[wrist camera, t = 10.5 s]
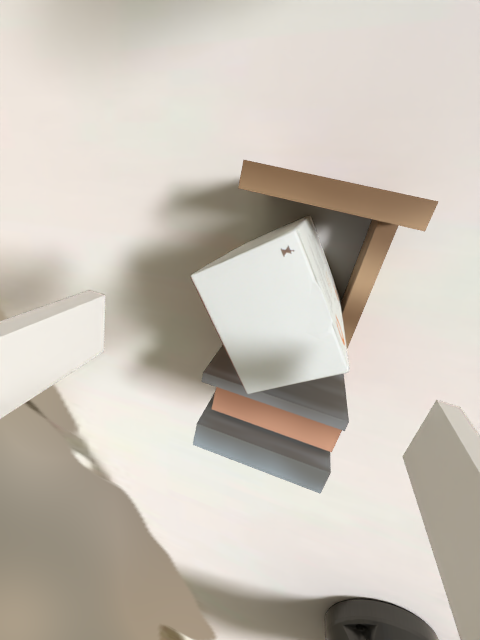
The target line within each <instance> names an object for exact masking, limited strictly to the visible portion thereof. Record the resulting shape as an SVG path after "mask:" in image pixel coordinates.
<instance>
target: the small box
mask: <svg viewBox="0 0 480 640" xmlns="http://www.w3.org/2000/svg"><path fill="white" fill-rule="evenodd" d="M191 279H192V281H193V283H194V285H195V288H196V290H197V292H198V294H199V296H200V298H201V300H202V302H203V304H204V306H205V308H206V310H207V312H208V314H209V316H210V319H211V321H212V323H213V325H214V327H215V329H216V331H217V333H218V335H219V337H220V339H221V341H222V343H223V345H224V348H225V350H226V352H227V354H228V356H229V358H230V360H231V362H232V364H233V366H234V368H235V370H236V372H237V374H238V376H239V378H240V381H241V383H242V385H243V387H244V389H245V391H246V393H247V394H251V393H255V392H259V391H264V390H268V389H273V388H277V387H282V386H286V385H291V384H296V383H300V382H305V381H310V380H315V379H319V378H324V377H329V376H334V375H339V374H344V373H348V372H349V361H348V353H347V347H346V340H345V332H344V325H343V319H342V312H341V304H340V297H339V294H338V291H337V288H336V285H335V282H334V279H333V276H332V273H331V271H330V268H329V265H328V262H327V259H326V257H325V254H324V251H323V248H322V245H321V243H320V240H319V237H318V234H317V231H316V229H315V226H314V224H313V221H312V219H311V216H310V215H309V216H306V217H304V218H301V219H299V220H297V221H295V222H292V223H290V224H288V225H285V226H283V227H281V228H278V229H276V230H274V231H272V232H269V233H267V234H265V235H263V236H261V237H258V238H256V239H254V240H252V241H249V242H247V243H245V244H243V245H242V246H240V247H238V248H236V249H234V250H232V251H231V252H229V253H227V254H226V255H224V256H222V257H220V258H218V259H217V260H215V261H213V262H211V263H210V264H208V265H206V266H205V267H203V268H201V269H200V270H198V271H196V272H195V273H193V274H192V275H191Z"/></svg>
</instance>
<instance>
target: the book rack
mask: <svg viewBox="0 0 480 640" xmlns="http://www.w3.org/2000/svg"><path fill="white" fill-rule="evenodd" d="M238 188H239V189H244V190H248V191H252V192H257V193H261V194H265V195H270V196H274V197H278V198H283V199H287V200H291V201H296V202H300V203H304V204H309V205H313V206H317V207H322V208H326V209H330V210H335V211H339V212H343V213H348V214H352V215H356V216H361V217H365V218H369V219H372V221H371V224H370V226H369V229H368V232H367V234H366V237H365V240H364V242H363V245H362V248H361V250H360V253H359V256H358V258H357V261H356V264H355V266H354V269H353V272H352V274H351V277H350V280H349V282H348V285H347V287H346V290H345V293H344V295H343V298H342V301H341V303H340V304H341V312H342V319H343V325H344V332H345V340H346V347H347V348H348V345H349V343H350V341H351V338H352V336H353V333H354V331H355V329H356V326H357V324H358V321H359V319H360V317H361V314H362V312H363V309H364V307H365V305H366V302H367V300H368V297H369V295H370V293H371V290H372V288H373V285H374V283H375V281H376V278H377V276H378V273H379V271H380V269H381V266H382V264H383V261H384V259H385V257H386V254H387V252H388V249H389V247H390V245H391V242H392V240H393V237H394V235H395V232H396V230H397V228H398V225H400V226H404V227H408V228H413V229H417V230H421V231H425V230H426V228H427V226H428V223H429V221H430V219H431V217H432V215H433V212H434V210H435V208H436V206H437V204H438V201H433V200H429V199H424V198H419V197H415V196H410V195H405V194H401V193H396V192H391V191H387V190H382V189H377V188H373V187H368V186H363V185H359V184H354V183H349V182H345V181H340V180H335V179H331V178H326V177H321V176H317V175H312V174H307V173H303V172H298V171H294V170H289V169H284V168H280V167H275V166H270V165H266V164H261V163H256V162H252V161H247V160H243V166H242V171H241V177H240V182H239V187H238ZM202 382H204V383H207V384H210V385H213V386H216V391H215V393H214V395H213V396H212V398H211V400H210V402H209V403H208V405H207V407H206V409H205V410H204V412H203V414H202V416H201V417H200V419H199V421H198V423H197V426H196V431H195V436H194V442H193V445H195V446H198V447H200V448H203V449H206V450H208V451H211V452H213V453H216V454H219V455H221V456H224V457H226V458H229V459H232V460H234V461H237V462H239V463H242V464H245V465H247V466H250V467H252V468H255V469H258V470H260V471H263V472H266V473H268V474H271V475H273V476H276V477H279V478H281V479H284V480H286V481H289V482H292V483H294V484H297V485H299V486H302V487H305V488H307V489H310V490H312V491H315V492H318V493H321V491H322V489H323V487H324V485H325V483H326V481H327V479H328V477H329V475H330V473H331V471H330V452H332V450H333V448H334V446H335V444H336V442H337V440H338V438H339V435H340V433H341V431H342V430H343V431H345V429H346V427H347V425H348V423H349V419H348V410H347V401H346V392H345V383H344V374H339V375H334V376H329V377H324V378H319V379H315V380H310V381H305V382H300V383H296V384H291V385H286V386H282V387H277V388H273V389H268V390H264V391H259V392H255V393H251V394H247V393H246V391H245V389H244V387H243V385H242V383H241V381H240V378H239V376H238V374H237V372H236V370H235V368H234V366H233V364H232V362H231V360H230V358H229V356H228V354H227V352H226V350H225V348H224V345H222V347H221V348H220V350H219V351H218V352H217V354H216V355H215V357H214V358H213V359H212V361H211V362H210V364H209V365H208V367H207V368H206V369H205V371H204V372H203V377H202Z"/></svg>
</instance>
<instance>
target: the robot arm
mask: <svg viewBox="0 0 480 640" xmlns="http://www.w3.org/2000/svg"><path fill="white" fill-rule="evenodd" d="M104 326H105V295H104V294H100V293H97V292H94V291H91V290H88V291H85V292H82V293H79V294H77V295H74V296H71V297H68V298H65V299H62V300H59V301H57V302H54V303H51V304H48V305H45V306H42V307H40V308H37V309H34V310H31V311H28V312H25V313H22V314H20V315H17V316H14V317H11V318H8V319H5V320H2V321H0V419H1V418H3V417H4V416H5V415H7V414H9V413H10V412H12V411H13V410H15V409H16V408H18V407H19V406H21V405H23V404H24V403H26V402H27V401H29V400H30V399H32V398H33V397H35V396H36V395H38V394H39V393H41V392H42V391H44V390H45V389H47V388H49V387H50V386H52V385H53V384H55V383H56V382H58V381H59V380H61V379H62V378H64V377H65V376H67V375H69V374H70V373H72V372H73V371H75V370H76V369H78V368H79V367H81V366H82V365H84V364H85V363H87V362H88V361H90V360H91V359H93V358H95V357H96V356H98V355H99V354H101V353H102V352H104ZM403 459H404V462H405V466H406V469H407V472H408V475H409V478H410V481H411V484H412V488H413V491H414V494H415V497H416V500H417V503H418V507H419V510H420V513H421V516H422V519H423V522H424V525H425V529H426V532H427V535H428V538H429V541H430V544H431V548H432V551H433V554H434V557H435V560H436V563H437V566H438V570H439V573H440V576H441V579H442V582H443V585H444V589H445V592H446V595H447V598H448V601H449V604H450V607H451V611H452V614H453V617H454V620H455V623H456V626H457V630H458V633H459V636H460V639H461V640H480V435H479V434H478V432H477V431H476V430H475V428H474V427H473V425H472V424H471V422H470V421H469V419H468V418H467V416H466V415H465V413H464V412H463V411H462V409H461V408H460V407H458V406H455V405H452V404H448V403H445V402H442V401H439V400H436V402H435V403H434V405H433V407H432V408H431V410H430V412H429V413H428V415H427V417H426V418H425V420H424V422H423V423H422V425H421V427H420V428H419V430H418V432H417V433H416V435H415V437H414V438H413V440H412V442H411V443H410V445H409V447H408V448H407V450H406V452H405V453H404V455H403ZM325 638H326V640H439V639H438V637H437V635H436V634H435V632H434V631H433V630H432V628H431V627H430V626H429V625H428V624H426V623H425V622H424V621H423V620H421V619H420V618H418V617H417V616H415V615H414V614H412V613H410V612H408V611H406V610H404V609H402V608H399V607H396V606H394V605H390V604H387V603H383V602H379V601H373V600H362V599H357V600H347V601H343V602H340V603H337V604H335V605H333V606H332V607H331V608H330V609H329V610H328V611H327V613H326V616H325Z"/></svg>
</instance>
